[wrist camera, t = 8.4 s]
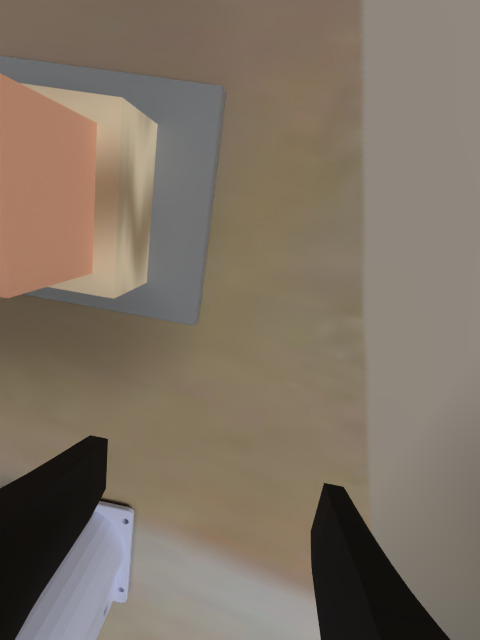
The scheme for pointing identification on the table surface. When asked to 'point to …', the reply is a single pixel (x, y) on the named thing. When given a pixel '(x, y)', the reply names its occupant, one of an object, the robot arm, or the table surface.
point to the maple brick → (115, 191)
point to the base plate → (155, 181)
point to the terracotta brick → (44, 191)
